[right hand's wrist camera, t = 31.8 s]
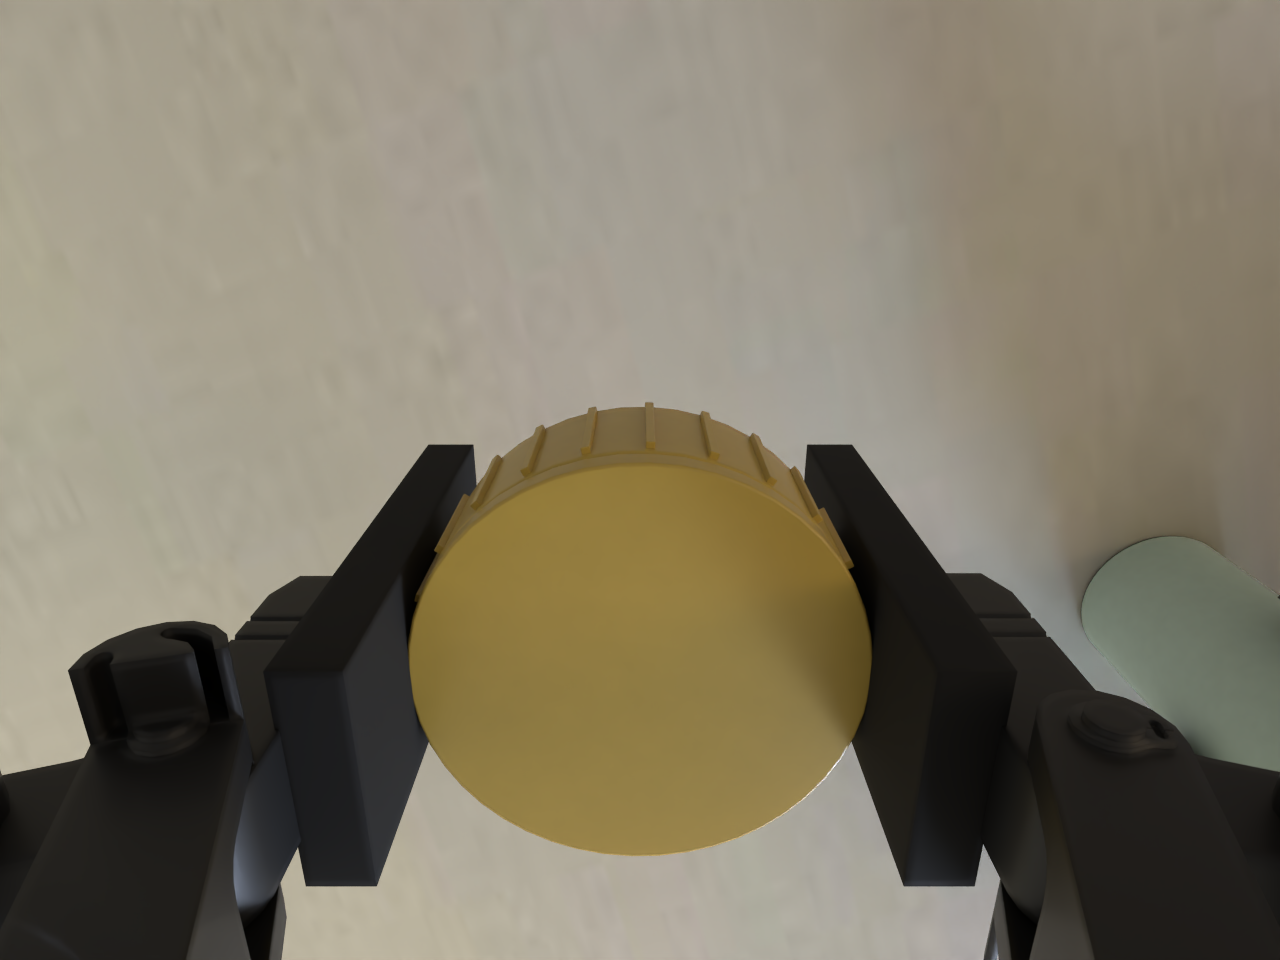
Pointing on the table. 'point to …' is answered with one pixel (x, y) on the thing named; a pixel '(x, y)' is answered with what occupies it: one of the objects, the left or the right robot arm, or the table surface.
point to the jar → (1193, 644)
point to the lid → (640, 636)
